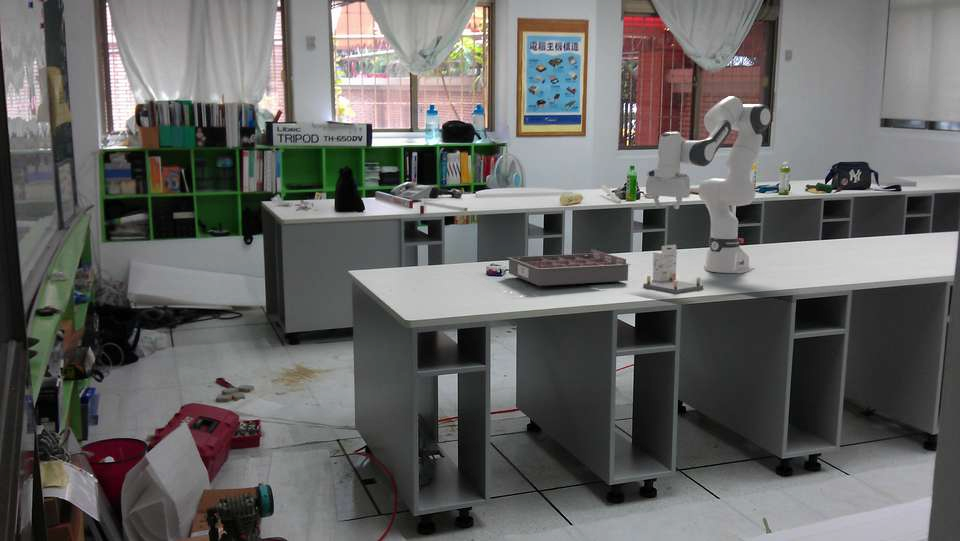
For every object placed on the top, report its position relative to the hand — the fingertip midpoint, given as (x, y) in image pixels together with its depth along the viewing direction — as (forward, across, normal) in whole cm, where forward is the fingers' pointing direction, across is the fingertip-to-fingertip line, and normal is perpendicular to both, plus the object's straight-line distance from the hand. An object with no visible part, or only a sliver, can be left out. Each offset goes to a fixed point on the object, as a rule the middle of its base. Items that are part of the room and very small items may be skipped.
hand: (667, 207), depth 355 cm
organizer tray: (+30, +24, +31) cm, 49 cm away
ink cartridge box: (+30, 0, 0) cm, 30 cm away
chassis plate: (+29, -14, +11) cm, 34 cm away
